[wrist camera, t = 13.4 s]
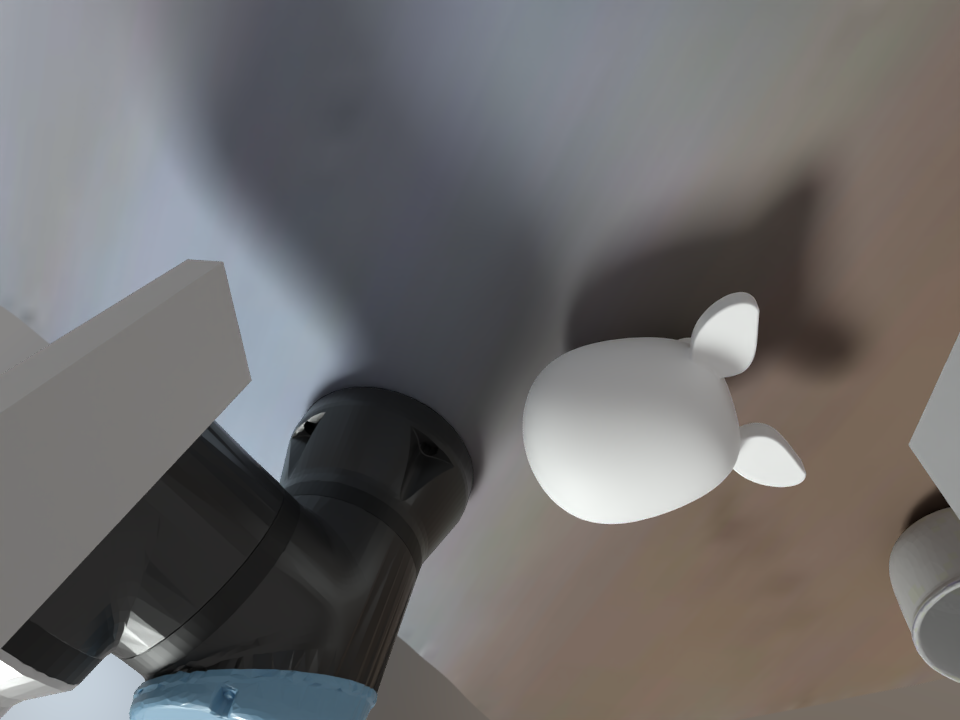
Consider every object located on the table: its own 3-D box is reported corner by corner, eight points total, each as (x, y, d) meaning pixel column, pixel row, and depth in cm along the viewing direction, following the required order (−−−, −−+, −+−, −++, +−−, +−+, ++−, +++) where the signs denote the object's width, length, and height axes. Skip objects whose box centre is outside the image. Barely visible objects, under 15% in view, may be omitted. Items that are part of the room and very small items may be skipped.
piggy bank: (557, 425, 46) (761, 368, 41) (570, 571, 38) (826, 522, 33) (487, 317, 38) (729, 231, 33) (486, 473, 30) (805, 390, 25)
